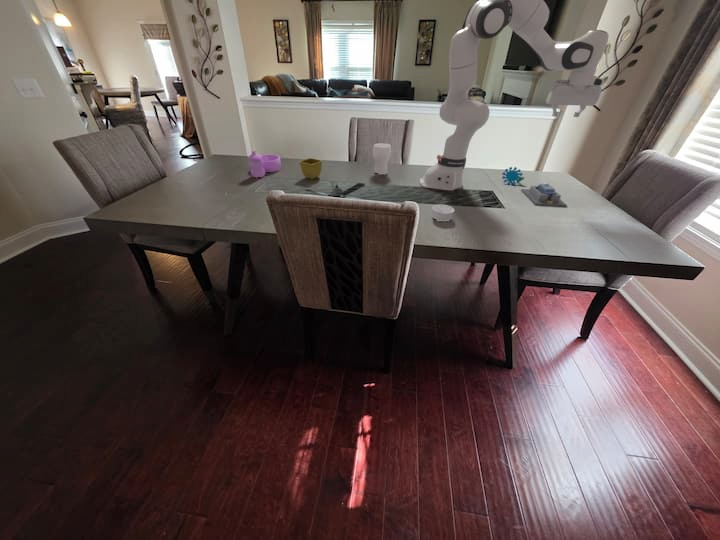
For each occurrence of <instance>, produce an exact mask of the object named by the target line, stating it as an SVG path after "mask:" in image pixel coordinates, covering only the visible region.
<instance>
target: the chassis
mask: <svg viewBox="0 0 720 540" xmlns="http://www.w3.org/2000/svg"><path fill="white" fill-rule="evenodd" d="M529 188H530V189H526V188H521V189H520V191H521V192H522V193H523V194H524V196H525V197H526V198H527V199H528V200H529V201H530V202H531V203H532V204H533V205H534V206H545V207H563V208H565V207H566V208H567V207H568V204H567V203H565V201H564V200H562V199H561V197H562V195H561V194H559V192H557V190H555V191H554V192H555V194H553V195H552V196H551V198H550V200H548V199H547V198H548V196H549V195H548V194H542V193H540V192H539V191H538V188H539V187H538V185H531V186H530V187H529Z"/></svg>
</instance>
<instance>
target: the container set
mask: <svg viewBox="0 0 720 540" xmlns="http://www.w3.org/2000/svg"><path fill="white" fill-rule="evenodd" d="M247 159H248V160H249V161H248V165H249V166H250V168H251V169H250V174H251V176H252V177H253V178H255V177H261V178H264V177H265V174H267V173H266V172H273V173H276V172H275V171H277V172H279V171H281V170H282V169H281V168H282V162H281V161H282V160H281V156H280V155H278V154H269V153H268V154H259V153H257V152H256V150H255V151H254V150H253V151H251V154H250V155H248V157H247ZM280 169H281V170H280ZM278 170H279V171H278Z"/></svg>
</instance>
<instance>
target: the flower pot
mask: <svg viewBox="0 0 720 540" xmlns="http://www.w3.org/2000/svg"><path fill="white" fill-rule="evenodd" d="M299 165H300V168H301V172H302V174H303V176H304V178H306V179H309V178H310V180H315V179H317V178H319V177H320V175H321V172H322V168H323V167H322V166H323V160H320V159H316V158H311V157H309V158H306V159H303V160H300V161H299ZM316 177H317V178H316ZM314 178H315V179H314Z"/></svg>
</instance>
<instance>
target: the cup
mask: <svg viewBox="0 0 720 540" xmlns="http://www.w3.org/2000/svg"><path fill="white" fill-rule="evenodd" d="M392 151H393V150H392V146H391V144H389V143H382V142H381V143H374V144H373V147H372V158H373V161H374V162H375V163H374V164H375V166H374V172H375V173H378V174H377V175H379V174H384V175H387V174H388V163H389V160H390V159H391V156H392ZM374 172H373V173H374ZM375 173H374V174H375Z"/></svg>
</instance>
